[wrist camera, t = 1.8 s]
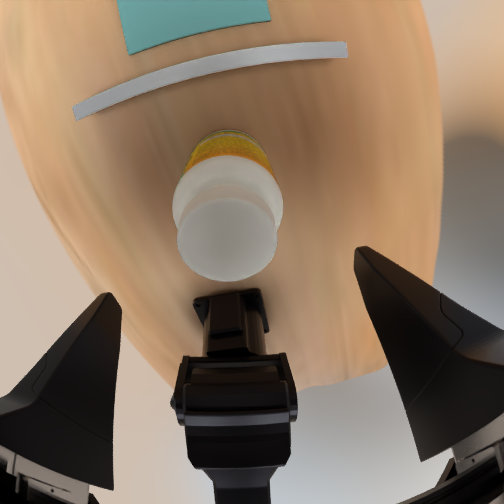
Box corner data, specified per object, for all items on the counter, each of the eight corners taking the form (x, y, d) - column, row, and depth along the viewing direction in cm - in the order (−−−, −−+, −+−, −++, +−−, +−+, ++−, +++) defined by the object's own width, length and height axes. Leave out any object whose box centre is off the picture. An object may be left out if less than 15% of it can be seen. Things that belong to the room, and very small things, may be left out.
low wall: (330, 58, 14) (348, 57, 12) (96, 112, 15) (76, 121, 13) (328, 45, 14) (345, 41, 11) (92, 99, 14) (71, 106, 12)
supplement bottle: (268, 196, 20) (293, 289, 13) (195, 203, 20) (177, 299, 13) (265, 124, 17) (296, 176, 9) (184, 132, 17) (144, 192, 9)
